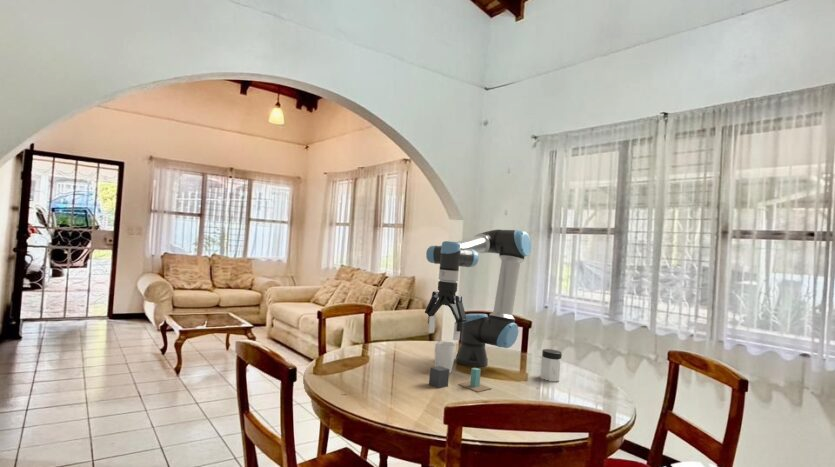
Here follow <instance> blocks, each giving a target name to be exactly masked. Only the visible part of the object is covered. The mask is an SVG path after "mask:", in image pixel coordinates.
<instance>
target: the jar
mask: <svg viewBox="0 0 835 467" xmlns="http://www.w3.org/2000/svg"><path fill="white" fill-rule="evenodd" d="M541 352H542V353H541V354H542V355H541V363H540V374H539V376H540V377H539V378H540V379H541V378H542V380H544V379H545V380H544V381H547V380H549V381H548V382H556V381H558V380H559V379H561V367H562V366H561V365H562V351H560V350H556V349H552V348H551V349H550V348H545V349H543V348H542V351H541ZM559 381H560V380H559Z"/></svg>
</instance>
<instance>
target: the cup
mask: <svg viewBox="0 0 835 467" xmlns="http://www.w3.org/2000/svg"><path fill="white" fill-rule="evenodd" d="M434 345H435V346H434V361H435V366H442V367H445V368H447V369H449V374H452V369H453V365H454V361H455V358H456V353H457V352H456V351H457V350H456V349H457V344H456V343H454V342H450V341H443V340H442V341H441V340H440V341H436V342H435V344H434Z"/></svg>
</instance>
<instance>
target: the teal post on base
mask: <svg viewBox="0 0 835 467" xmlns="http://www.w3.org/2000/svg"><path fill="white" fill-rule="evenodd" d="M481 370H482V369H481V368H479V367H478V368H477V367H472V368H471V370H470V380H469V381H465V382H460V383H458V386H460V387H463V388H466V389H468V390H471V391H474V392H476V393H480V392H485V391H486V392H487V391H488V390H489V391H490V390H492V388H491V387H490V386H486V385H484V384H482V383H481Z"/></svg>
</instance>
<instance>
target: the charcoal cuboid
mask: <svg viewBox="0 0 835 467" xmlns="http://www.w3.org/2000/svg"><path fill="white" fill-rule="evenodd" d="M449 375H450V373H449V369H447V368H445V367H442V366H436V365H435V366H430V367H429V378H428V379H429V380H428V385H430V386H432V387H434V388H436V389H442V388H447V387H449Z"/></svg>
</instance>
